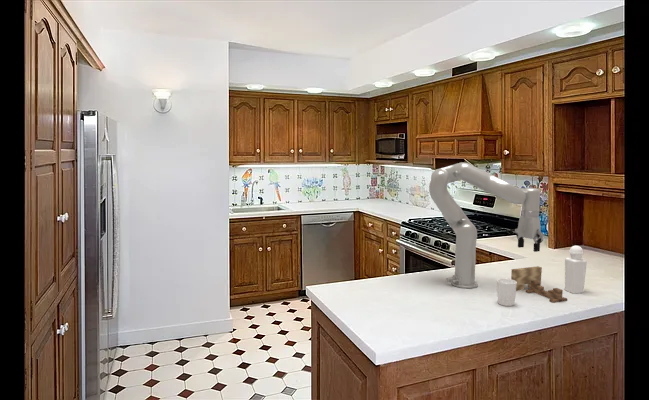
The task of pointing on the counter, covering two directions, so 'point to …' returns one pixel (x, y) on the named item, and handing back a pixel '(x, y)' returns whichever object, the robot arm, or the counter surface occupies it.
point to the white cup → (506, 291)
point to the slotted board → (526, 276)
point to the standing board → (553, 294)
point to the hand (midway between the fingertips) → (528, 249)
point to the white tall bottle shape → (575, 270)
